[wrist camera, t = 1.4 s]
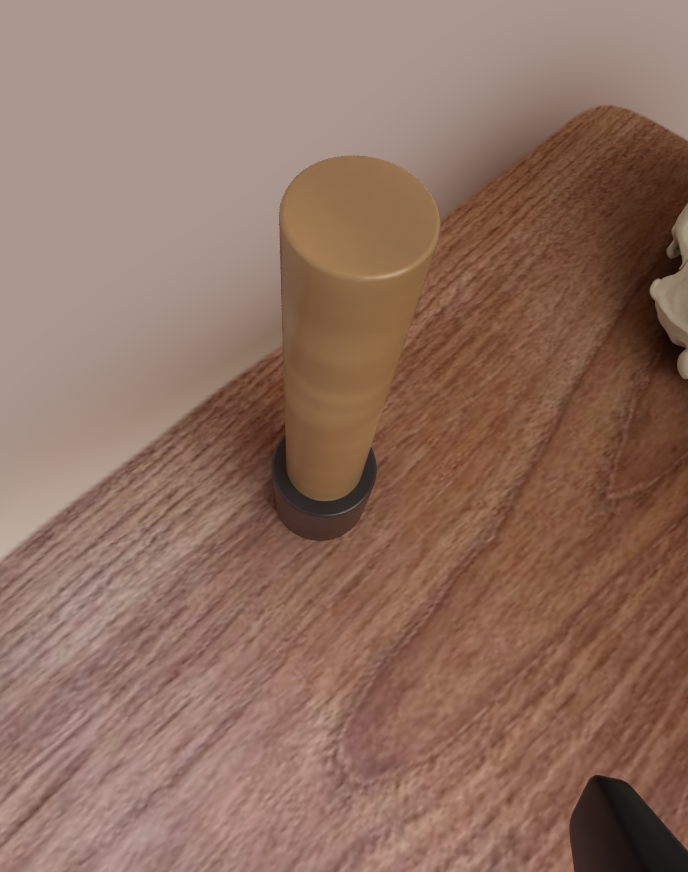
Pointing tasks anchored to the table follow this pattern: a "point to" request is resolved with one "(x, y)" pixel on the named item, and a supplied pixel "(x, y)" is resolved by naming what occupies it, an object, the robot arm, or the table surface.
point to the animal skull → (675, 293)
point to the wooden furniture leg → (344, 328)
